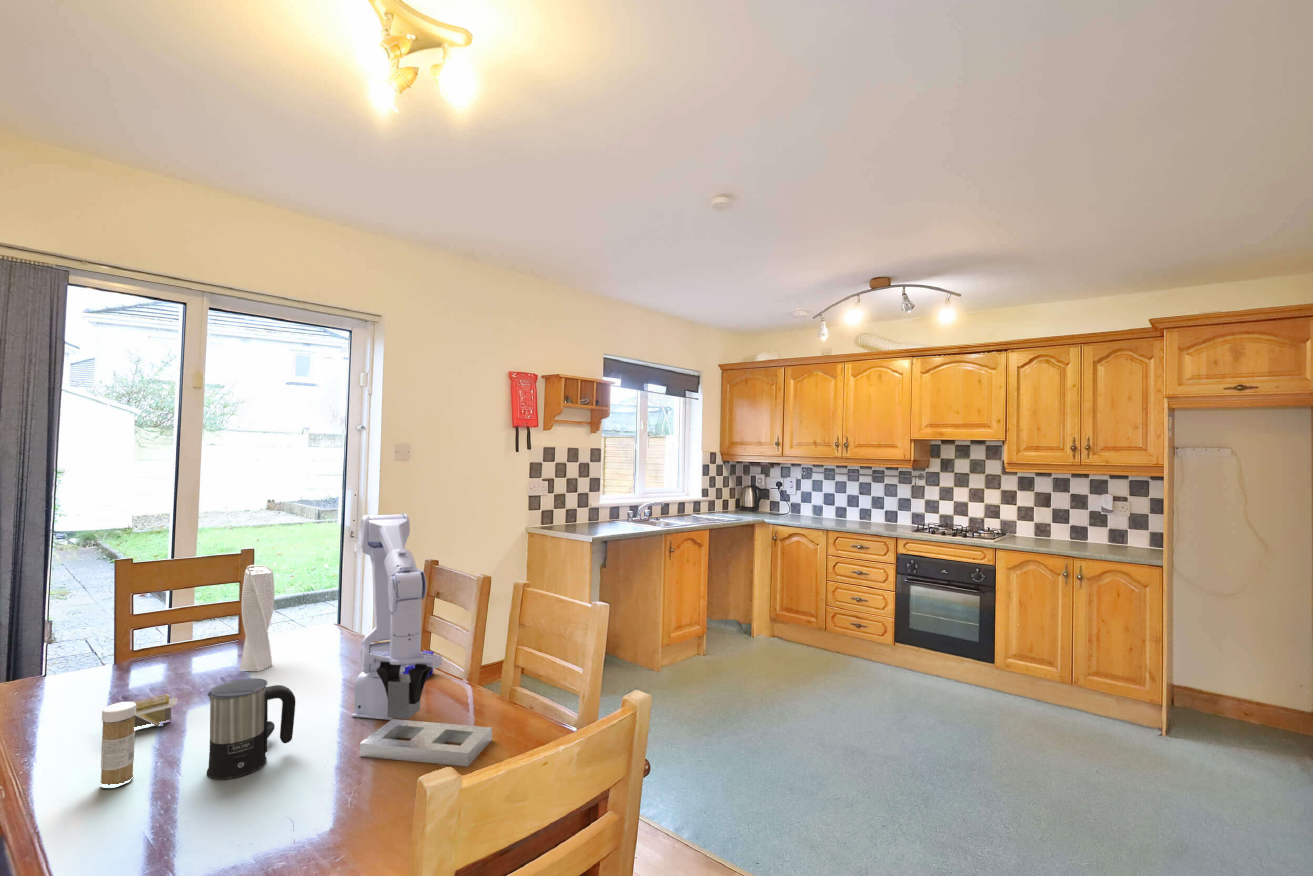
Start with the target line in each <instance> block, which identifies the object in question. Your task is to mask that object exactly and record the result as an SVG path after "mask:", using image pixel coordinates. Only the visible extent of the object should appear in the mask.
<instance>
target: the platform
mask: <svg viewBox="0 0 1313 876" xmlns="http://www.w3.org/2000/svg"><path fill="white" fill-rule="evenodd" d="M133 702H134V703H136V714H135V715H136V716H135V721H134V725H135V727H137V726H142V725H146V724H151V723H152V724H154V725H159V724H160V723H159V722H161V721H166V720H169V719H171V720H172V708H173V707H175V706H176V705H177V703H178V698H177V697H172V698H170V695H169V694H167V693H165V694H162V695H158V696H152V697H148V698H144V699H143V701H142V699H140V700H137V701H133Z"/></svg>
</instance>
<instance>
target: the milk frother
mask: <svg viewBox="0 0 1313 876" xmlns="http://www.w3.org/2000/svg"><path fill="white" fill-rule="evenodd" d="M267 685H268V681H267V679H264V678H257V677H255V678H251V677H248V678H242V679H235V680H231V681H228V682H224V683H221V684H219V685H217V686H214V687H212V688H211V689H210V690H208V692H207V694H206V695H207V697H208V698H209V702H210V704H209V707H210V708H209V709H210V711H209V713H210V714H209V716H210V717H209V753H208V754H209V755H208V768H207V769H206V775H207V776H208V778H210V777H211V778H210V779H213V778H214V780H230V779H234V778H238V777H243V776H246V775H249V774H252V773H253V772H255V771H257V770H259V769H261V768H262V767H263V766H264V765H266V763H267V759H268V758H267V756H266V753H267V752H268V739H269V737H270V736H271V735H272V733H273V732H274V730H275V727H276V726H275V724H274V722H273V721H270V720H269V721H268V707H269V706H268V701H270V700H274V699H279V700H281V702H282V703H281V715H280V716H281V717H280V719H281V720H280V731H279V739H280V740H281V742H282V743H283V744H287V743H290V742H291V741H292V740H293V735H294V733H293V732H294V727H295V726H294V724H295V715H296V714H295V712H296V703H297V702H296V697H295V694H294V693H293V691H292V690H291V689H290V688H289V687H288V686H285V685H282V684H281V685H280V684H276V685H269V686H267Z"/></svg>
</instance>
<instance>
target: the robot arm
mask: <svg viewBox="0 0 1313 876" xmlns="http://www.w3.org/2000/svg"><path fill="white" fill-rule="evenodd" d="M410 522H411V521H410V518H409V516H408V514H407V513H402V514H401V513H400V514H399V513H398V514H379V515H373V514H372V515H369V514H368V515H367V514H365V515H363V516H362V518H361V521H360V548H361V551H362V553H363V554H365V555H368V556H369V558H370V563H371V567H372V568H371V569H372V591H373V592H372V597H373V621H374V622H373V625H374V626H373V627H374V628H373V629H372V630H370V631H369V632H368V633H367V634H366V635H365V636H364V637H363V638H362V640H361V649H360V669H361V672H360V674H359V675H358V676H357V677H356V681H355V685H354V698H353V699H354V701H353V702H354V704H353V705H354V708H353V713H352V714H351V717H353V718H367V719H376V720H377V719H378V720H389V721H390V720H392V719H394V718H389V717H387V712H388V681H390V680H391V679H393V678H394V677H396V676H398V675H399V674H403V672H405V667H408V665H414V666H415V668H412V669H411V670H409V676H410V681H411V702H412V704H416V703H417V702H419V701H420V702H421V698H422V692H423V691H424V690H423V689H424V686H425V683H426V681H427V679H428V678H429V677H428V675H429V673H430V671H431V669H432V668H433V669H438V668H440V667H441V666H442V660H443V659H442V655H438V654H434V653H433V654H429V653H425V652H422V651H421V649H422V648H421V645H422V612H423V611H422V609H423V608H422V605H423V601H422V600H424V599H425V598H426V594H427V578H426V574H425V572H424V570H423V569H421V568H418V567H417V565H416V562H415V561H416V560H415V558H414V555H413V553H412V552H411V550H408V549H406V547H405V546H406V544H407V541H408V538H409V537H410V530H411V524H410ZM381 641H382V642H381ZM376 642H377V643H376ZM427 677H428V678H427Z"/></svg>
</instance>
